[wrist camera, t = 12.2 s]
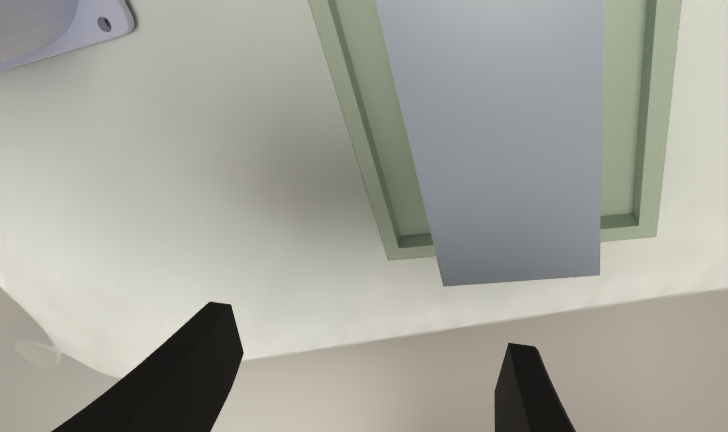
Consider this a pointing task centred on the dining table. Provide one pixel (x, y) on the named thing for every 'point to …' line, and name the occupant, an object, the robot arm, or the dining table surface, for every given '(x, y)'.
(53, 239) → the dining table surface
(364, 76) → the sage tray
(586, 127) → the grey oblong block
